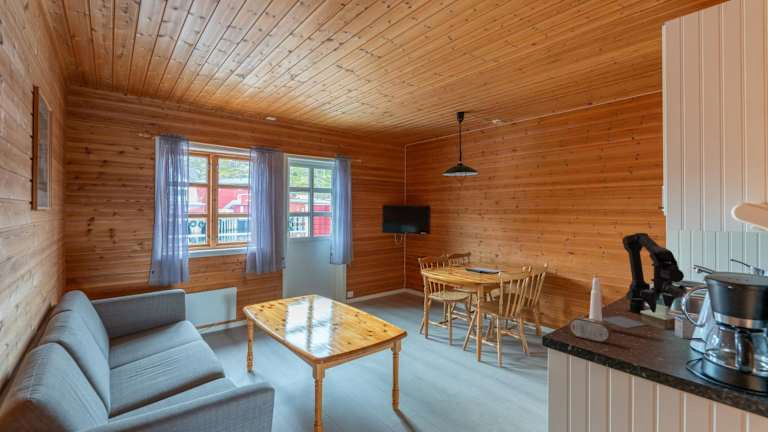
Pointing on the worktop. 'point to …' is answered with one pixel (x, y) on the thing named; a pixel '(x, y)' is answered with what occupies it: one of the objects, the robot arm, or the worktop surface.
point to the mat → (623, 322)
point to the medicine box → (684, 326)
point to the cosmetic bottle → (595, 301)
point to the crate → (658, 322)
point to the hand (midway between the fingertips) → (660, 311)
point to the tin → (590, 329)
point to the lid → (660, 312)
